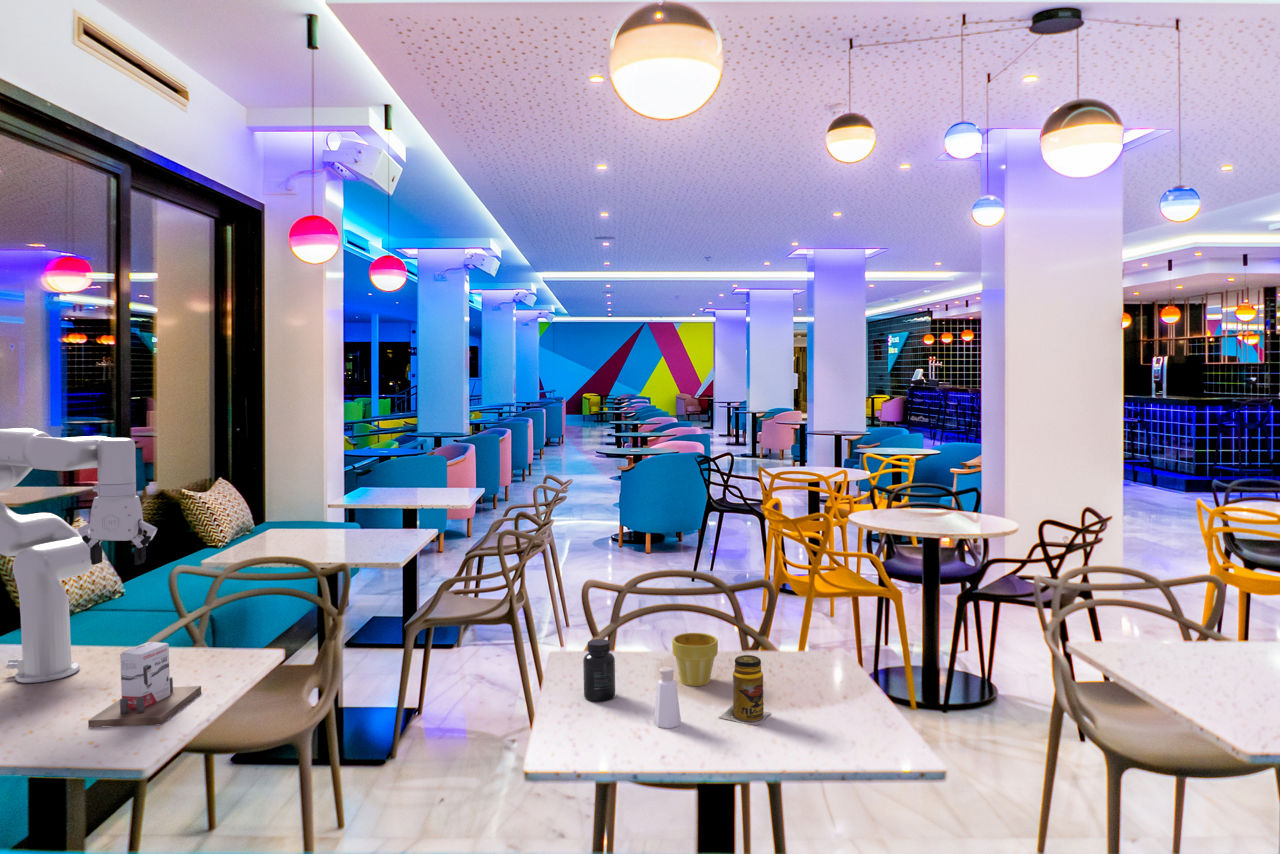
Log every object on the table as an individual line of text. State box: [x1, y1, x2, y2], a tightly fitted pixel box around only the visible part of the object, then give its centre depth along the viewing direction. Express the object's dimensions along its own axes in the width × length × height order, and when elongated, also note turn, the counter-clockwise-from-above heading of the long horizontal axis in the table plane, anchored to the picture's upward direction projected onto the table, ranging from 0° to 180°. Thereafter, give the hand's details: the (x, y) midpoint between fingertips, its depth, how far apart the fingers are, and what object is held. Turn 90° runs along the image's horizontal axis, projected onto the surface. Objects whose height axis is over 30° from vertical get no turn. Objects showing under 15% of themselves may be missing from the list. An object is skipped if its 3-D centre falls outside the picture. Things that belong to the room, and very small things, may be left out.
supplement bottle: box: [582, 638, 616, 703], centre depth 178 cm, size 7×7×12 cm
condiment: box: [718, 654, 772, 726], centre depth 167 cm, size 7×8×12 cm
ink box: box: [119, 641, 171, 709], centre depth 175 cm, size 9×5×12 cm, turn 171°
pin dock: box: [87, 676, 202, 728], centre depth 175 cm, size 14×18×4 cm
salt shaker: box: [653, 666, 682, 729], centre depth 163 cm, size 5×5×11 cm
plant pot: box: [671, 632, 719, 687], centre depth 187 cm, size 10×10×10 cm
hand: (118, 563), depth 193 cm, fingers open, 9 cm apart
